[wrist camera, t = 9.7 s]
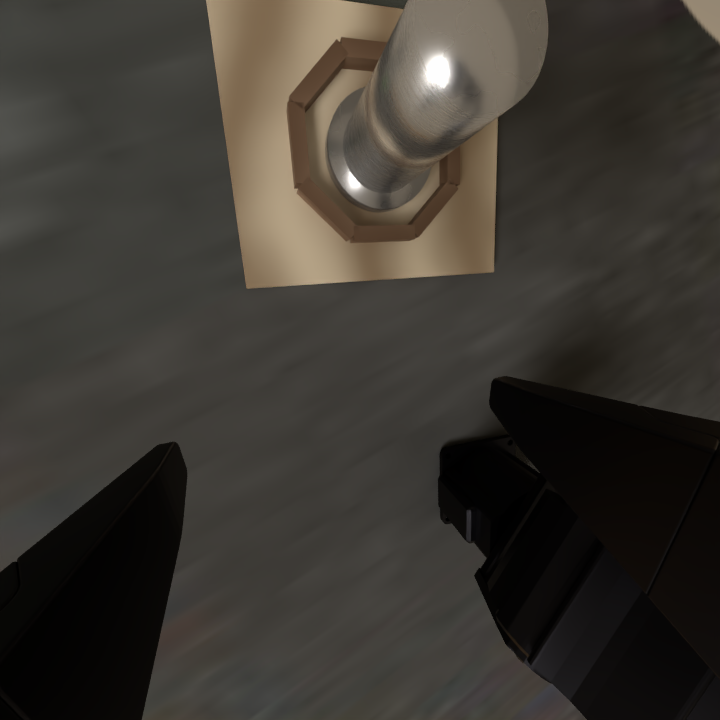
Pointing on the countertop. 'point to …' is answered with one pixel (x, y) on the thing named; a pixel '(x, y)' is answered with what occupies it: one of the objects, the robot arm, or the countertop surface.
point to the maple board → (307, 153)
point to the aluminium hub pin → (432, 94)
